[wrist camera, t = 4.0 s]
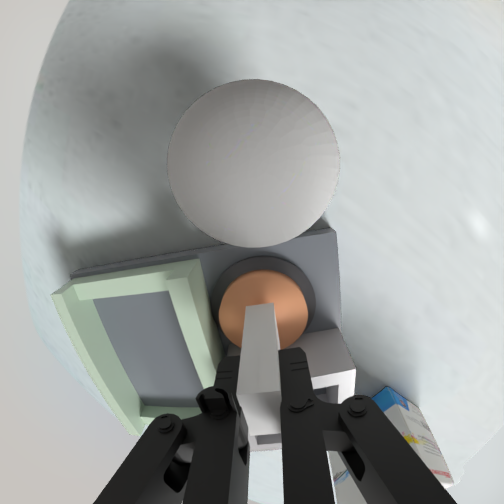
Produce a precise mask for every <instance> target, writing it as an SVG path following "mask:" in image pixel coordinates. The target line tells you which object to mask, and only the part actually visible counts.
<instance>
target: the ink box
mask: <svg viewBox="0 0 504 504" xmlns="http://www.w3.org/2000/svg"><path fill="white" fill-rule="evenodd" d="M371 399H372V400H374V401H375V403H376V404H377V405H378V406H379V408H380V409H381V410H382V411H383V412H384V414H385V415H386V416H387V417H388V419H389V420H390V421H391V422H392V424H393V425H394V426H395V427H396V429H397V430H398V431H399V432H400V434H401V435H402V436H403V437H404V438H405V440H406V441H407V442H408V443H409V445H410V446H411V447H412V448H413V450H414V451H415V452H416V453H417V455H418V456H419V457H420V458H421V460H422V461H423V462H424V463H425V464H426V466H427V467H428V468H429V469H430V471H431V472H432V473H433V474H434V476H435V477H436V478H437V479H438V481H439V482H440V483H441V484H442V486H443V487H444V488H445V489H447V488H448V487H450V486H452V485H453V484H454V481H453V479H452V476H451V474H450V471H449V469H448V467H447V464H446V462H445V460H444V458H443V455H442V453H441V451H440V449H439V447H438V445H437V443H436V441H435V438H434V436H433V434H432V432H431V430H430V428H429V426H428V424H427V422H426V420H425V418H424V416H423V414H422V412H421V411H420V409H419V408H417V407H416V406H415V405H413V404H412V403H411V402H409V401H408V400H406V399H405V398H403V397H402V396H401V395H399V394H398V393H396V392H395V391H394V390H392V389H391V388H390V387H385V388H384V389H383V390H382V391H381V392H379V393H378V394H377V395H375V396H374V397H373V398H371ZM328 452H329V458H330V463H331V468H332V474H333V480H334V486H335V492H336V498H337V504H367V503H366V501H365V499H364V497H363V496H362V494H361V492H360V491H359V489H358V487H357V485H356V484H355V482H354V480H353V479H352V477H351V475H350V473H349V472H348V470H347V468H346V466H345V465H344V463H343V461H342V459H341V458H340V456H339V454H338V452H337V451H328Z"/></svg>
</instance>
